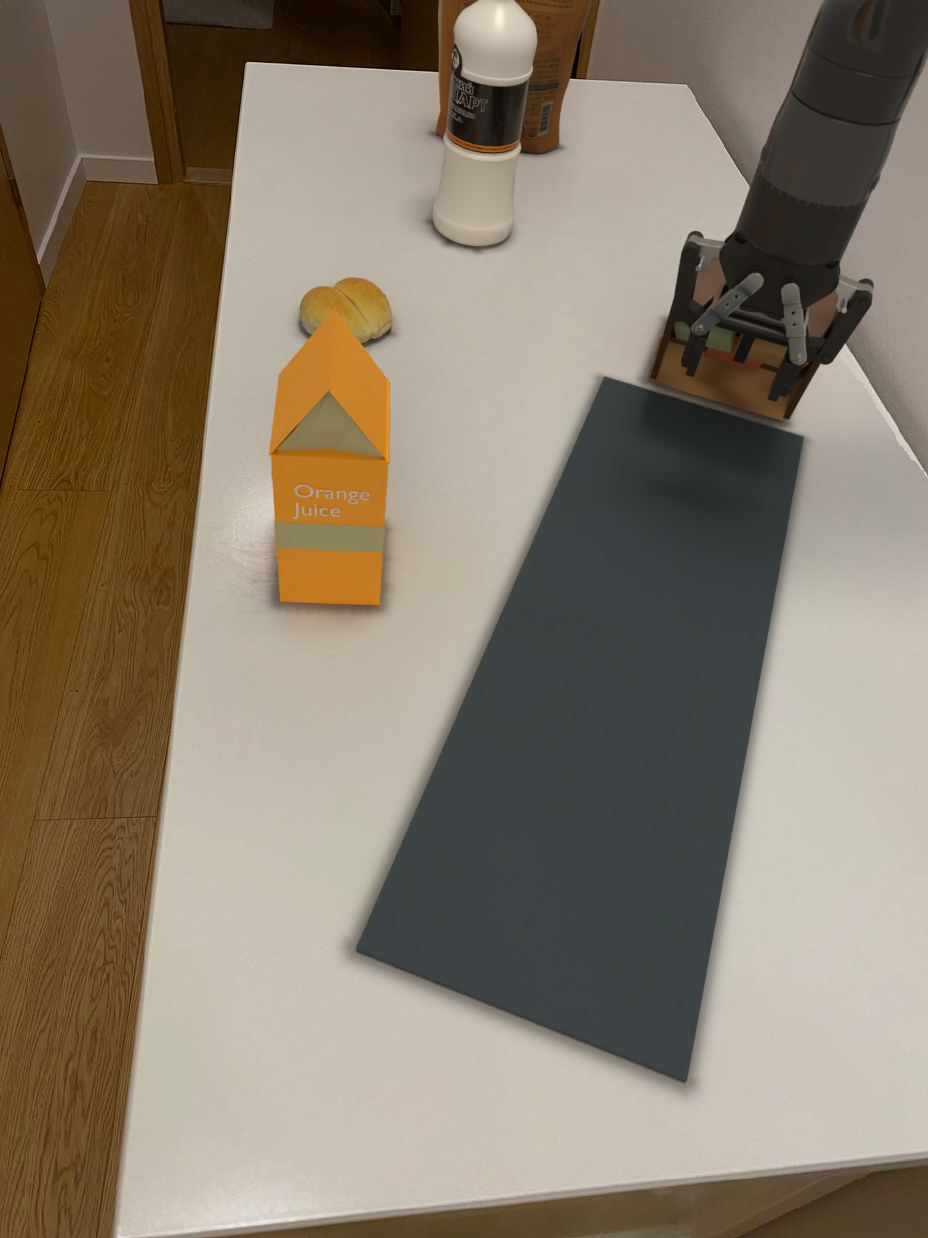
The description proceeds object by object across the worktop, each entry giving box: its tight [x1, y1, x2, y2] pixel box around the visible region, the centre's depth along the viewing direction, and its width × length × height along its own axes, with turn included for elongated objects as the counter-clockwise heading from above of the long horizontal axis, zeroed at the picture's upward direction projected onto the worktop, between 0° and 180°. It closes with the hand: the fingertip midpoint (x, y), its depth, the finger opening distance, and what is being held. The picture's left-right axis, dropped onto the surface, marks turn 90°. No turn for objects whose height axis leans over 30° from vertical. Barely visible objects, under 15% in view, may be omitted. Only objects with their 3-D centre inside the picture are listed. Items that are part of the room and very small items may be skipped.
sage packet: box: [674, 321, 736, 353], centre depth 83 cm, size 5×4×2 cm
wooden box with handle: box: [650, 259, 838, 420], centre depth 80 cm, size 13×15×10 cm
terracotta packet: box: [704, 336, 762, 372], centre depth 86 cm, size 5×4×2 cm
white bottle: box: [432, 0, 537, 247], centre depth 98 cm, size 9×9×30 cm
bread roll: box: [299, 276, 394, 345], centre depth 93 cm, size 8×9×4 cm
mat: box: [355, 376, 805, 1082], centre depth 73 cm, size 20×61×1 cm, turn 161°
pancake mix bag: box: [434, 0, 593, 155], centre depth 113 cm, size 7×19×28 cm, turn 90°
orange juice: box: [268, 307, 391, 606], centre depth 67 cm, size 8×9×20 cm
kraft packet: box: [747, 338, 809, 368], centre depth 82 cm, size 5×4×2 cm
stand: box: [646, 317, 790, 422], centre depth 95 cm, size 14×12×5 cm
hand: (731, 382), depth 75 cm, fingers closed on wooden box with handle, 6 cm apart
